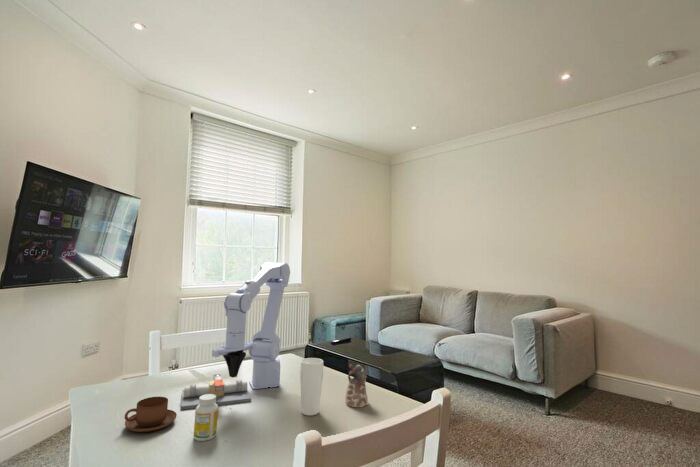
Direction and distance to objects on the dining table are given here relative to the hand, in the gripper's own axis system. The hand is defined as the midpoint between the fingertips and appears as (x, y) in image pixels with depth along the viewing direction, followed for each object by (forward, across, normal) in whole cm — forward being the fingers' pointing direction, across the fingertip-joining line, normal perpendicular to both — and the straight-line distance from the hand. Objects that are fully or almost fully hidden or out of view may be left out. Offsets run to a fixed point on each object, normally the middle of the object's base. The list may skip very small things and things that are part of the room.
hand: (233, 376), depth 111 cm
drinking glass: (+8, -11, +23) cm, 27 cm away
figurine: (+8, -26, +29) cm, 40 cm away
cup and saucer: (+9, +22, -4) cm, 24 cm away
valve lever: (+3, +3, -4) cm, 5 cm away
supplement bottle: (+8, +17, +12) cm, 22 cm away
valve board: (+8, 0, -8) cm, 11 cm away
